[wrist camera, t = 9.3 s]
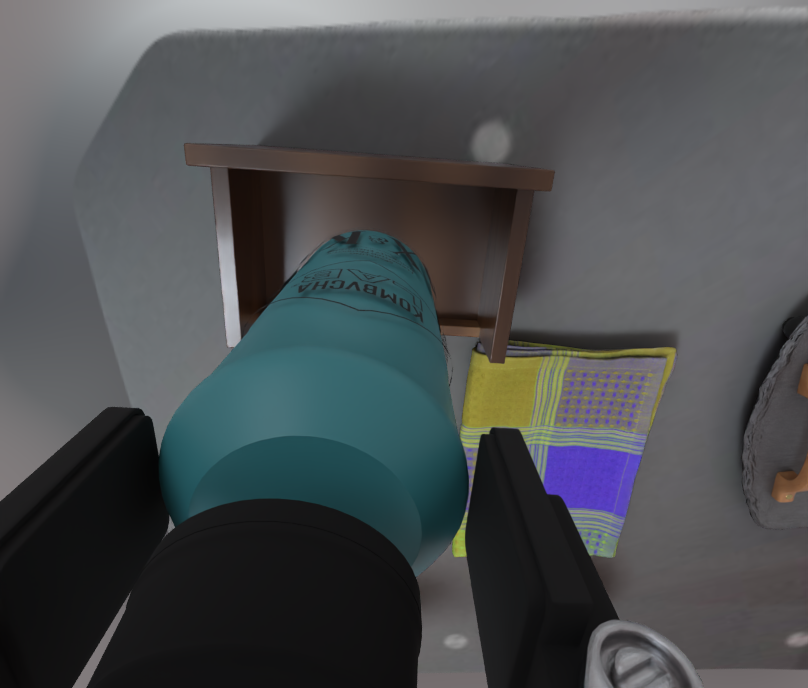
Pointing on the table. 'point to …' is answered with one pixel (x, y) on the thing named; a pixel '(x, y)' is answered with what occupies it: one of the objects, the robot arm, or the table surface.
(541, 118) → the table surface
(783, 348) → the serving tray
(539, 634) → the robot arm
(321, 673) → the beverage bottle
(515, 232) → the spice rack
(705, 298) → the table surface
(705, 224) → the table surface
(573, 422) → the dish towel
